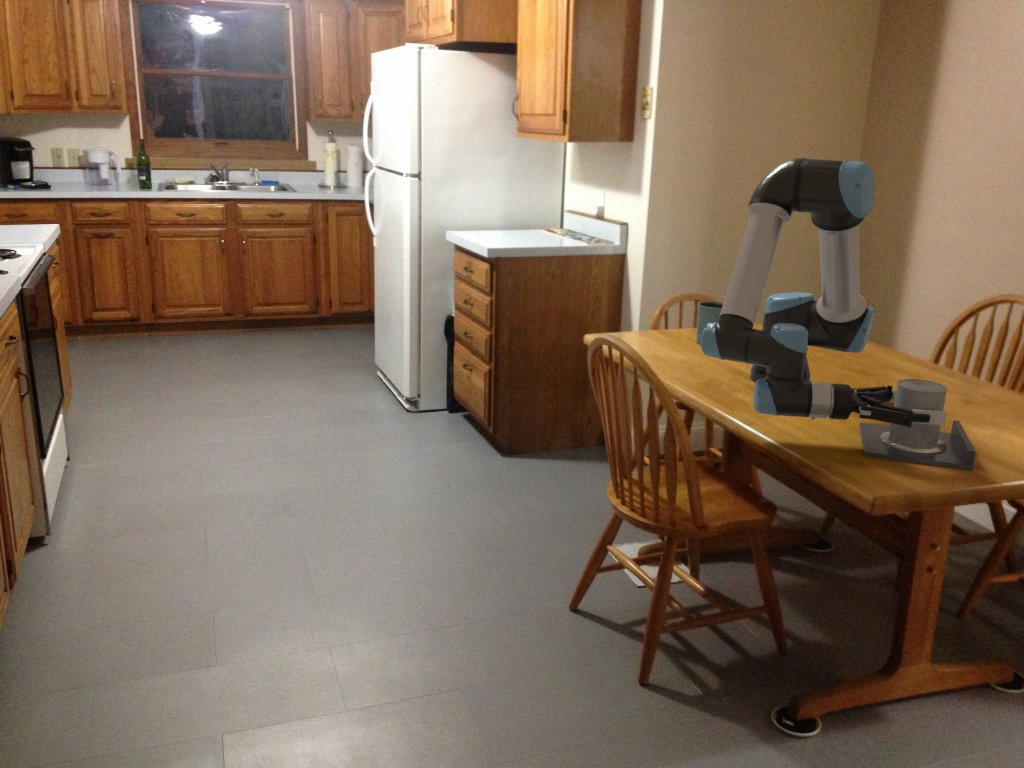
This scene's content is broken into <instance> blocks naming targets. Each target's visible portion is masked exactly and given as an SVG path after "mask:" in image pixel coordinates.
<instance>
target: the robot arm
mask: <svg viewBox="0 0 1024 768" xmlns="http://www.w3.org/2000/svg"><path fill="white" fill-rule="evenodd" d="M875 179H876V178H875V173H874V172H873V168H872V167H871V166H870V165H869V164H868V163H867V162H863V161H855V160H852V159H846V160H834V159H830V160H829V159H818V158H806V157H797V158H791V159H788V160H786V161H783V162H782V163H780V164H779V165H777V166H776V167H774V168H772V169H771V170H770V171H769V172H768V173H767V174H766V175H765V176H764V177H763V179H761V181H760V182H759V183H758V185H756V187H755V189H754V191H753V193H752V195H751V196H750V200H749V202H748V206H747V209H746V213H747V215H748V216H749V218H748V221H747V225H746V227H745V231H744V234H743V238H742V241H741V245H740V247H739V252H738V254H737V257H736V261H735V263H734V267H733V270H732V273H731V276H730V277H731V278H730V280H729V284H728V287H727V291H726V294H725V296H724V301H723V302H722V303H723V306H722V310H721V313H720V316H719V320H718V322H717V323H716V322H714V323H708V324H707V325H706V326H705V328H704V330H703V332H702V336H701V344H700V348H701V352H702V353H703V354H704V355H705V356H706V357H710V358H715V359H718V360H722V361H724V360H726V361H729V362H730V361H732V362H737V363H743V364H747V365H752V366H751V368H750V374H749V375H750V376H749V378H750V379H751V380H752V381H754V388H753V394H752V397H753V398H752V401H753V403H752V404H753V409H754V410H755V412H757V414H762V415H763V414H764V415H770V416H772V415H773V416H775V417H777V416H779V417H781V416H782V417H800V418H802V417H803V418H810V420H812V421H813V420H816V418H817V419H827V418H829V419H831V420H843V421H846V420H849V418H850V416H851V414H852V413H855V414H856V413H857V414H858V415H859V418H860V419H865V420H872V421H873V420H874V421H878V422H883V423H889V424H891V423H893V424H898V425H903V426H907V427H911V426H912V423H918V424H933V425H941V426H946V421H947V414H948V412H947V411H944V410H943V411H931V410H916V409H912V411H910V410H906V409H902V408H898V407H894V405H889V404H886V403H887V402H891V403H892V404H894V403H895V397H896V391H897V389H893V388H894V387H893V386H892V385H887V386H885V385H883V386H881V385H880V386H871V387H870V386H869V387H860V388H852V387H851V385H849V384H848V383H847V384H845V383H832V384H831V383H829V382H813V381H811V372H810V366H809V362H808V356H807V355H808V354H807V353H808V351H809V348H808V346H809V347H812V348H813V347H814V348H820V349H825V350H832V351H838V352H842V353H855V354H856V353H861V352H863V351H864V350H865V348H866V346H867V343H868V340H869V337H870V334H871V331H872V327H873V324H874V319H875V314H876V310H875V308H873V307H871V306H868V305H867V300H866V298H865V297H864V295H862V294H861V293H860V292H861V291H860V289H861V287H860V225H861V224H862V223H863V222H865V219H866V217H868V216H870V214H871V213H872V210H873V208H874V205H875V197H876V196H875V195H876V194H875V193H876V180H875ZM794 212H797V213H807V214H808V213H809V214H810V221H811V223H812V225H813V226H814V227H815V228H816V229H818V243H819V261H820V263H819V264H820V280H821V281H820V282H821V296H820V297H819V298H818V300H815V296H814V294H813V293H811V292H804V291H803V292H801V291H797V292H795V291H792V292H791V291H790V292H781V293H775V294H772V295H770V296H768V297H767V299H766V301H765V305H764V306H765V307H764V311H763V322H762V329H757V328H756V329H755V328H754V324H755V321H756V318H757V314H758V312H759V307H760V304H761V300H762V298H763V294H764V292H765V287H766V284H767V280H768V278H769V274H770V271H771V267H772V263H773V261H774V258H775V254H776V250H777V247H778V245H779V240H780V237H781V234H782V231H783V227H784V225H786V224H788V223H789V222H790V220H791V217H792V214H793V213H794ZM830 384H831V385H830ZM905 417H906V419H905Z"/></svg>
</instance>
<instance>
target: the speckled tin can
mask: <svg viewBox="0 0 1024 768" xmlns="http://www.w3.org/2000/svg"><path fill="white" fill-rule="evenodd" d="M896 383H897V386H896V390H897V391H896V397H895V403H893V404H894V405H893V406H894V407H898V408H902V409H906V410H910V411H912V409H916V410H931V411H944V409H945V403H946V402H945V401H946V396H947V391H948V387H947V386H945V385H944V384H941V383H940V382H939V383H938V382H935V381H931V380H925V379H919V378H917V379H915V378H905V379H903V378H902V379H899V380H898V381H897V382H896ZM905 419H906V417H905ZM890 426H891V428H890V434H889V440H890V441H892V442H893V443H895V444H898V445H901V446H904V447H908V448H914V449H932V448H935V447H937V445H938V444H937V442H938V437H939V432H941V431H940V429H941V426H942V425H933V424H918V423H912V426H911V427H907V426H903V425H898V424H893V423H890Z"/></svg>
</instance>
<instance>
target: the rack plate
mask: <svg viewBox="0 0 1024 768" xmlns="http://www.w3.org/2000/svg"><path fill="white" fill-rule="evenodd" d="M858 428H859V432H860V438H861V442H862V449H863V455H864V457H866V458H873V459H874V458H875V459H882V460H888V461H896V462H903V463H905V462H906V463H912V464H913V463H914V464H920V465H928V466H937V467H941V468H942V467H943V468H951V469H959V470H968V471H973V468H974V463H975V457H976V450H975V448H974V446H973V444H972V442H971V440H970V438H969V436H968V435H967V433H966V430H965V428H964V427H963V425H962V423H961V421H960V420H955V419H954V420H952V426H951V431H950V432H945V431H939V437H938V442H937V444H938V445H937V447H935V448H932V449H914V448H908V447H904V446H901V445H898V444H895V443H893V442H892V441H890V440H889V434H890V428H891V425H888V424H887V425H886V424H880V423H879V424H878V423H870V422H862V421H861V422H859V426H858Z"/></svg>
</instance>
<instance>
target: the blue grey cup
mask: <svg viewBox="0 0 1024 768" xmlns="http://www.w3.org/2000/svg"><path fill="white" fill-rule="evenodd" d="M723 303H724V302H720V301H719V302H718V301H708V300H707V301H699V302H698V303H697V318H696V320H697V321H696V325H697V326H696V328H697V329H696V339H695V340H696V343H697V344H698V345H701V336H702V332H703V330H704V328H705V326H706V325H707V324H708V323H714V322H716V323H717V322H718V320H719V316H720V313H721V310H722V306H723Z"/></svg>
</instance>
